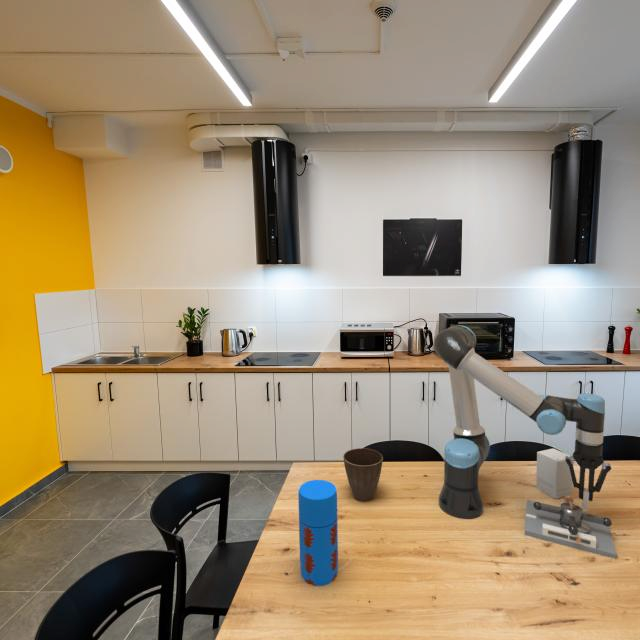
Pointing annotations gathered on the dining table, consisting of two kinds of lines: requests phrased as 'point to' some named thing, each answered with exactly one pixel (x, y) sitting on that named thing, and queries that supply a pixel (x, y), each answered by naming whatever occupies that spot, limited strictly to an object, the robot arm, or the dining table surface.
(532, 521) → the stand
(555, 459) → the supplement box
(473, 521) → the dining table surface
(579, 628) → the dining table surface
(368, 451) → the plant pot
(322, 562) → the thermos
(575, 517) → the capstan
